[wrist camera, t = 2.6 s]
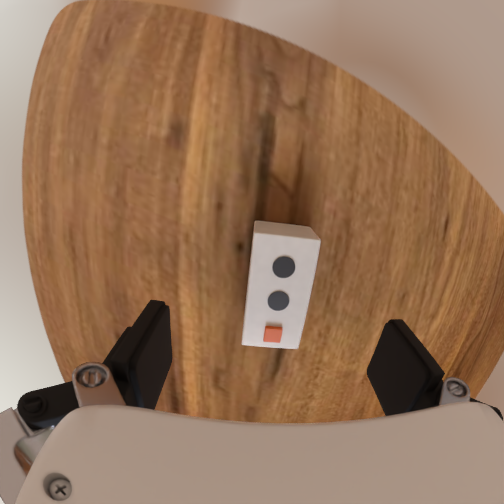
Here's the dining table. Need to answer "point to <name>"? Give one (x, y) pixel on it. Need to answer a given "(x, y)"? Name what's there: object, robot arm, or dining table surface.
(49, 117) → the dining table surface
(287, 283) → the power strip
